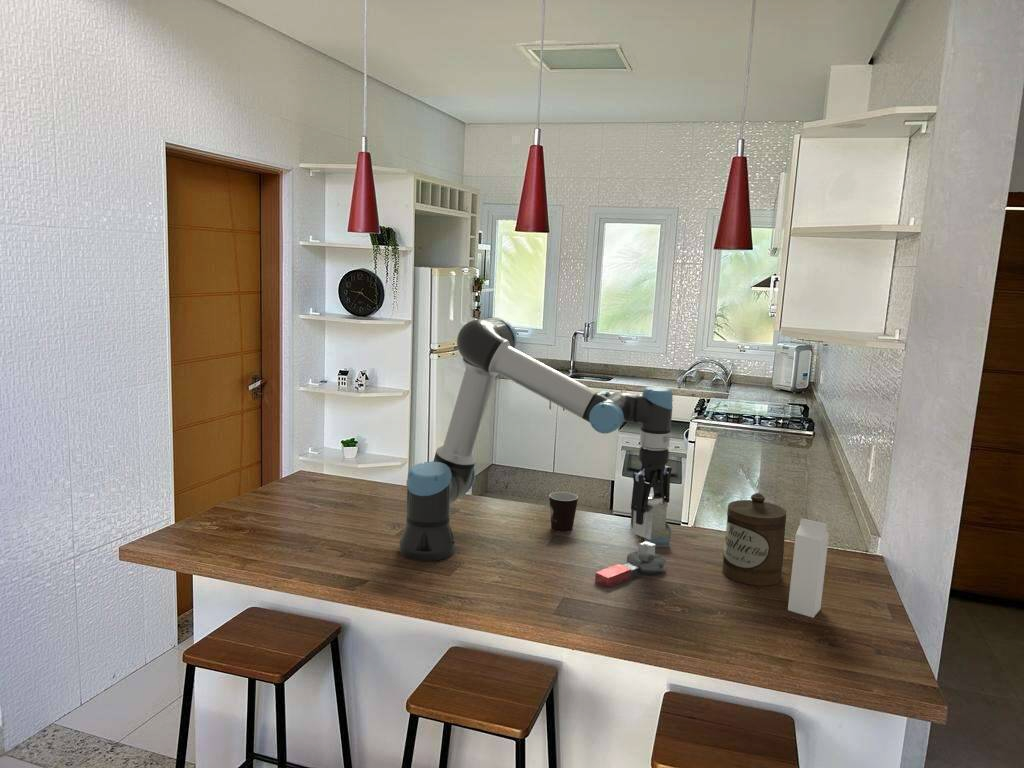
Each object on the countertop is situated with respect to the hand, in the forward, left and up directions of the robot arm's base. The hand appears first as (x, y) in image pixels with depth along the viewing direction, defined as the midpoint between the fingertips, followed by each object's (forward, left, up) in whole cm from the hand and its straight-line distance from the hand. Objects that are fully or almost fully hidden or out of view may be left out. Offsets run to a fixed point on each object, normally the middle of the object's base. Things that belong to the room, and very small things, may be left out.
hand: (648, 532), depth 200 cm
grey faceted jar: (0, 0, 0) cm, 0 cm away
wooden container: (+19, -20, -10) cm, 29 cm away
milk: (+10, -39, -10) cm, 41 cm away
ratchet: (-7, 0, -10) cm, 12 cm away
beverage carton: (+21, +15, -10) cm, 27 cm away
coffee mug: (+5, +35, -10) cm, 37 cm away
